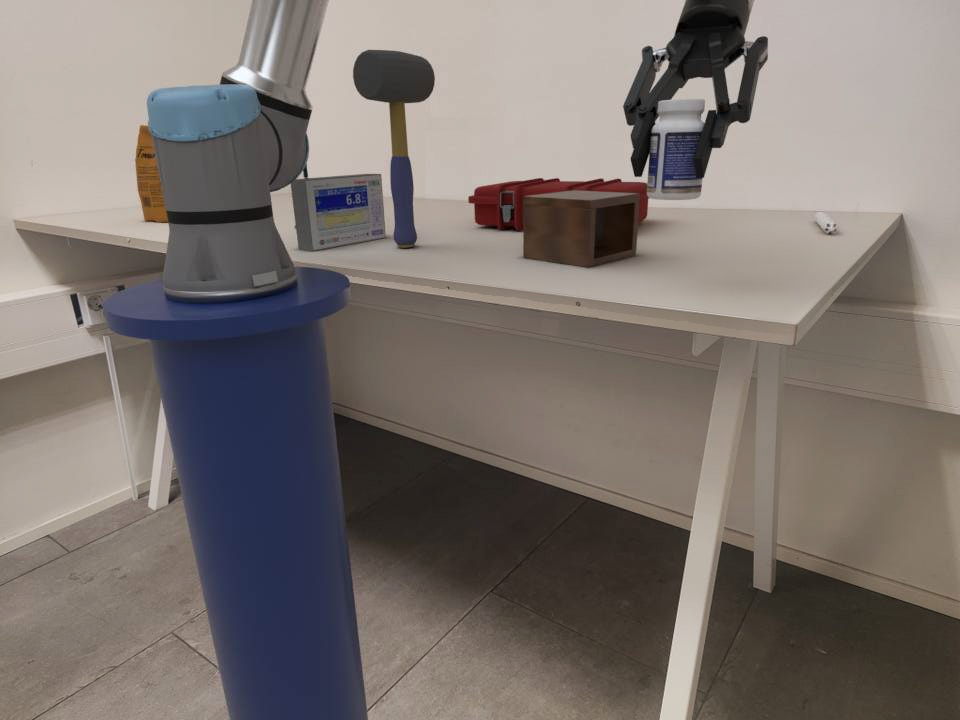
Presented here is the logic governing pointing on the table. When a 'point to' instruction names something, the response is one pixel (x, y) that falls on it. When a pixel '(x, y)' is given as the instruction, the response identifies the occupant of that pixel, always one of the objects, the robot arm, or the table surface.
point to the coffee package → (149, 178)
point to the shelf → (580, 227)
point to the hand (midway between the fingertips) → (666, 167)
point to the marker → (825, 222)
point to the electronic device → (337, 210)
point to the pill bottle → (675, 150)
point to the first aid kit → (506, 199)
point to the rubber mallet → (396, 120)
